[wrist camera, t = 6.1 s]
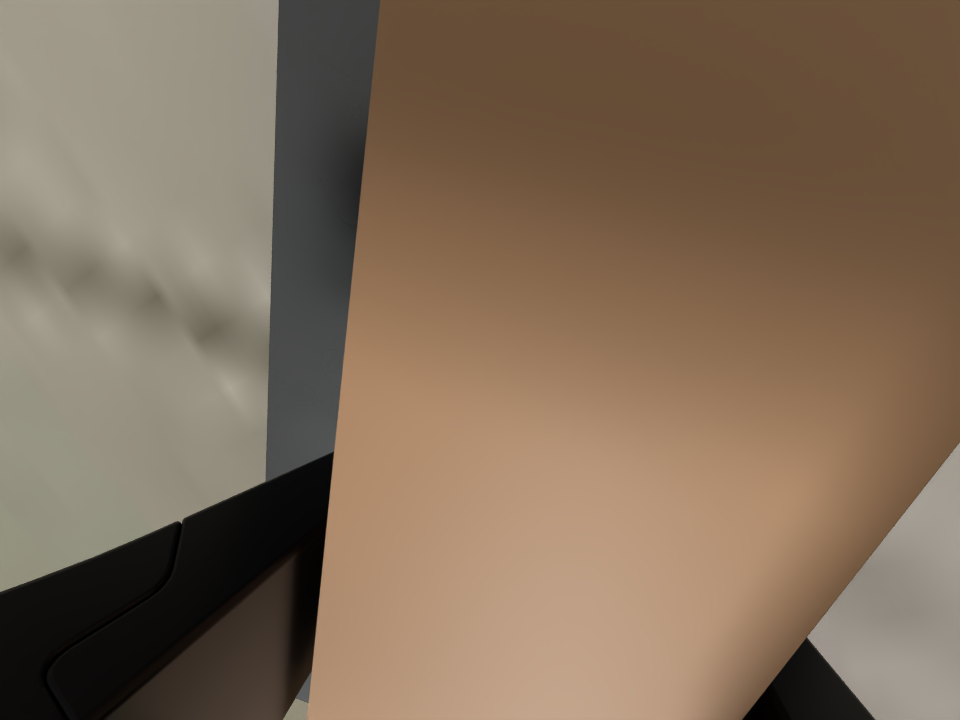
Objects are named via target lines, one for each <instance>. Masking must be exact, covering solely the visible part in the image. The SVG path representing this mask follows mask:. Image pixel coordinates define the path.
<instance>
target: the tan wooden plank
mask: <svg viewBox="0 0 960 720" xmlns="http://www.w3.org/2000/svg"><path fill="white" fill-rule="evenodd" d="M959 443H960V0H380V8H379V18H378V28H377V38H376V48H375V57H374V67H373V77H372V87H371V97H370V106H369V116H368V126H367V136H366V146H365V155H364V165H363V175H362V185H361V195H360V204H359V214H358V224H357V234H356V244H355V253H354V263H353V273H352V283H351V293H350V303H349V312H348V322H347V332H346V342H345V352H344V361H343V371H342V381H341V391H340V401H339V410H338V420H337V430H336V440H335V450H334V459H333V469H332V479H331V489H330V499H329V508H328V518H327V528H326V538H325V548H324V557H323V567H322V577H321V587H320V597H319V606H318V616H317V626H316V636H315V646H314V656H313V665H312V675H311V685H310V695H309V705H308V714H307V720H742V719H743V718H744V717H745V715H746V714H747V713H748V712H749V710H750V709H751V708H752V706H753V705H754V704H755V703H756V701H757V700H758V699H759V697H760V696H761V695H762V694H763V692H764V691H765V690H766V689H767V687H768V686H769V685H770V683H771V682H772V681H773V680H774V678H775V677H776V676H777V675H778V673H779V672H780V671H781V669H782V668H783V667H784V666H785V664H786V663H787V662H788V661H789V659H790V658H791V657H792V655H793V654H794V653H795V652H796V650H797V649H798V648H799V646H800V645H801V644H802V643H803V641H804V640H805V639H806V638H807V636H808V635H809V634H810V632H811V631H812V630H813V629H814V627H815V626H816V625H817V624H818V622H819V621H820V620H821V618H822V617H823V616H824V615H825V613H826V612H827V611H828V610H829V608H830V607H831V606H832V604H833V603H834V602H835V601H836V599H837V598H838V597H839V596H840V594H841V593H842V592H843V590H844V589H845V588H846V587H847V585H848V584H849V583H850V581H851V580H852V579H853V578H854V576H855V575H856V574H857V573H858V571H859V570H860V569H861V567H862V566H863V565H864V564H865V562H866V561H867V560H868V559H869V557H870V556H871V555H872V553H873V552H874V551H875V550H876V548H877V547H878V546H879V545H880V543H881V542H882V541H883V539H884V538H885V537H886V536H887V534H888V533H889V532H890V530H891V529H892V528H893V527H894V525H895V524H896V523H897V522H898V520H899V519H900V518H901V516H902V515H903V514H904V513H905V511H906V510H907V509H908V508H909V506H910V505H911V504H912V502H913V501H914V500H915V499H916V497H917V496H918V495H919V494H920V492H921V491H922V490H923V488H924V487H925V486H926V485H927V483H928V482H929V481H930V480H931V478H932V477H933V476H934V474H935V473H936V472H937V471H938V469H939V468H940V467H941V465H942V464H943V463H944V462H945V460H946V459H947V458H948V457H949V455H950V454H951V453H952V451H953V450H954V449H955V448H956V446H957V445H958V444H959Z"/></svg>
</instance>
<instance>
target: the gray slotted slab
mask: <svg viewBox="0 0 960 720" xmlns="http://www.w3.org/2000/svg"><path fill="white" fill-rule="evenodd" d="M379 8H380V0H279V18H278V54H277V90H276V126H275V162H274V198H273V234H272V271H271V307H270V343H269V379H268V415H267V451H266V481H269V480H271V479H273V478H275V477H278V476H280V475H282V474H284V473H287V472H289V471H291V470H293V469H295V468H298V467H300V466H302V465H304V464H307V463H309V462H311V461H313V460H316V459H318V458H320V457H322V456H325V455H327V454H329V453H331V452H334V450H335V440H336V430H337V420H338V410H339V401H340V391H341V381H342V371H343V361H344V352H345V342H346V332H347V322H348V312H349V303H350V293H351V283H352V273H353V263H354V253H355V244H356V234H357V224H358V214H359V204H360V195H361V185H362V175H363V165H364V155H365V146H366V136H367V126H368V116H369V106H370V97H371V87H372V77H373V67H374V57H375V48H376V38H377V28H378V18H379ZM311 675H312V671H311V673H310V675H309V676H308V678H307V680H306V681H305V683H304V685H303V686H302V688H301V690H300V691H299V693H298V695H297V696H296V698H297V699H299V700H302V701H304V702H307V703H309V695H310V685H311Z"/></svg>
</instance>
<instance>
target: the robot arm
mask: <svg viewBox="0 0 960 720" xmlns="http://www.w3.org/2000/svg"><path fill="white" fill-rule="evenodd" d="M333 459H334V452H331V453H329V454H327V455H325V456H322V457H320V458H318V459H316V460H313V461H311V462H309V463H307V464H304V465H302V466H300V467H298V468H295V469H293V470H291V471H289V472H287V473H284V474H282V475H280V476H278V477H275V478H273V479H271V480H269V481H266V482H264V483H262V484H260V485H257V486H255V487H253V488H251V489H248V490H246V491H244V492H242V493H239V494H237V495H235V496H233V497H230V498H228V499H226V500H224V501H222V502H219V503H217V504H215V505H213V506H210V507H208V508H206V509H204V510H201V511H199V512H197V513H195V514H192V515H190V516H188V517H186V518H184V519H183V521H182V524H181V523H180V522H178V521H177V522H174V523H172V524H169V525H167V526H165V527H163V528H160V529H158V530H156V531H154V532H151V533H149V534H147V535H145V536H142V537H140V538H138V539H135V540H133V541H130V542H128V543H126V544H123V545H121V546H119V547H116V548H114V549H112V550H109V551H107V552H104V553H102V554H100V555H97V556H95V557H92V558H90V559H87V560H85V561H82V562H79V563H77V564H74V565H71V566H69V567H66V568H64V569H61V570H58V571H56V572H53V573H50V574H48V575H45V576H43V577H40V578H37V579H35V580H32V581H29V582H27V583H24V584H21V585H18V586H16V587H13V588H10V589H7V590H5V591H2V592H0V720H283V718H284V717H285V715H286V713H287V712H288V710H289V708H290V706H291V705H292V703H293V701H294V700H295V698H296V696H297V695H298V693H299V691H300V690H301V688H302V686H303V685H304V683H305V681H306V680H307V678H308V676H309V675H310V673H311V671H312V665H313V656H314V646H315V636H316V626H317V616H318V606H319V597H320V587H321V577H322V567H323V557H324V548H325V538H326V528H327V518H328V508H329V499H330V489H331V479H332V469H333ZM742 720H875V719H874V717H873V716H872V715H871V714H870V713H869V711H868V710H867V709H866V708H865V707H864V705H863V704H862V703H861V702H860V701H859V699H858V698H857V697H856V696H855V695H854V693H853V692H852V691H851V690H850V689H849V687H848V686H847V685H846V684H845V683H844V681H843V680H842V679H841V678H840V677H839V675H838V674H837V673H836V672H835V671H834V669H833V668H832V667H831V666H830V665H829V663H828V662H827V661H826V660H825V659H824V657H823V656H822V655H821V654H820V653H819V651H818V650H817V649H816V648H815V647H814V645H813V644H812V643H811V642H810V641H809V639H808V638H806V639H805V640H804V641H803V643H802V644H801V645H800V646H799V648H798V649H797V650H796V652H795V653H794V654H793V655H792V657H791V658H790V659H789V661H788V662H787V663H786V664H785V666H784V667H783V668H782V669H781V671H780V672H779V673H778V675H777V676H776V677H775V678H774V680H773V681H772V682H771V683H770V685H769V686H768V687H767V689H766V690H765V691H764V692H763V694H762V695H761V696H760V697H759V699H758V700H757V701H756V703H755V704H754V705H753V706H752V708H751V709H750V710H749V712H748V713H747V714H746V715H745V717H744V718H743V719H742Z"/></svg>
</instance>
